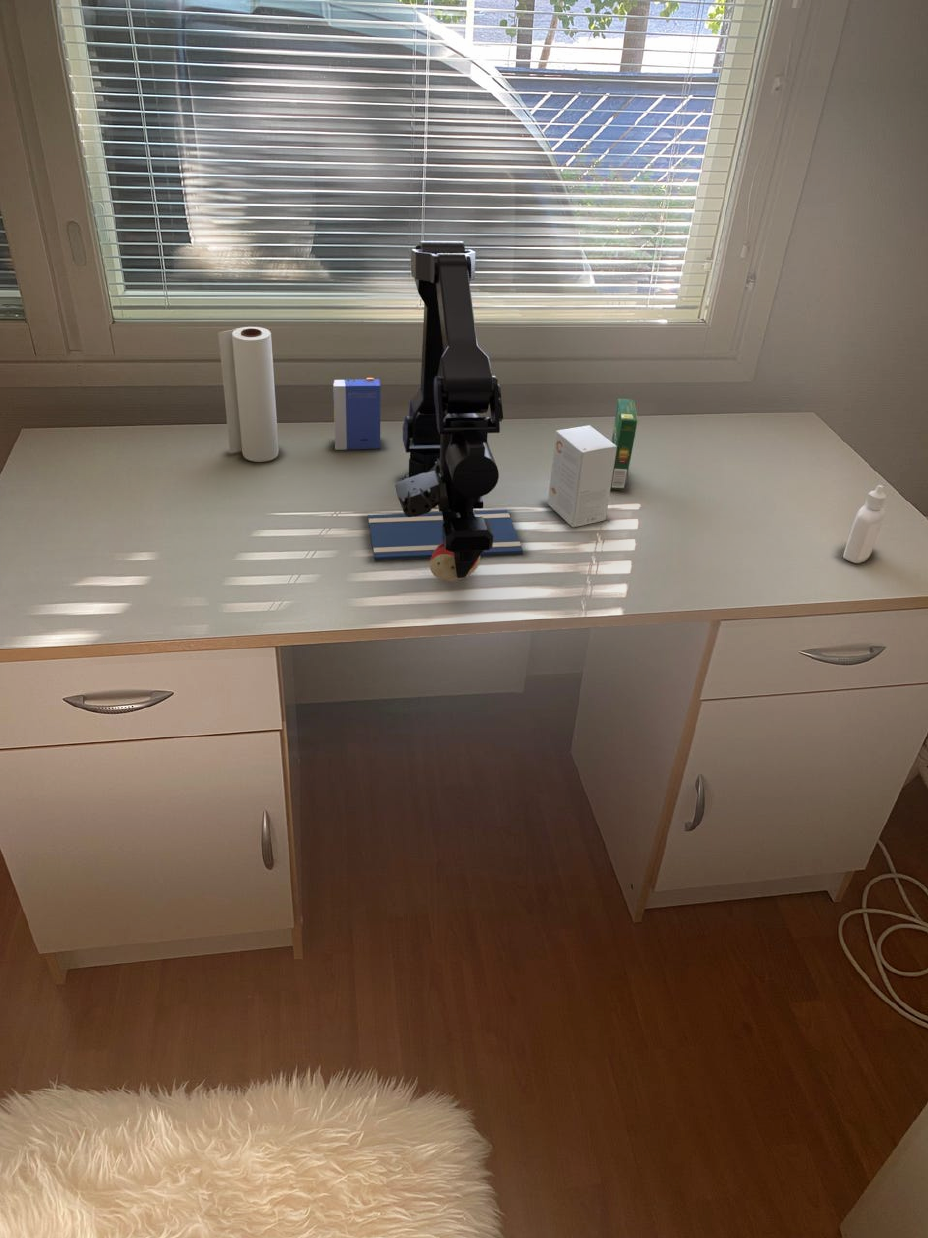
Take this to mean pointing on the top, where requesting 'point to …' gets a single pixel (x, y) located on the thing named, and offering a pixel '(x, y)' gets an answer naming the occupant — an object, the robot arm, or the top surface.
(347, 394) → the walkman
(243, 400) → the paper towel roll
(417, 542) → the towel
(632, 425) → the coffee box
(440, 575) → the ladybug figurine
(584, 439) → the small box
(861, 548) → the eye dropper bottle
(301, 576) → the top surface
